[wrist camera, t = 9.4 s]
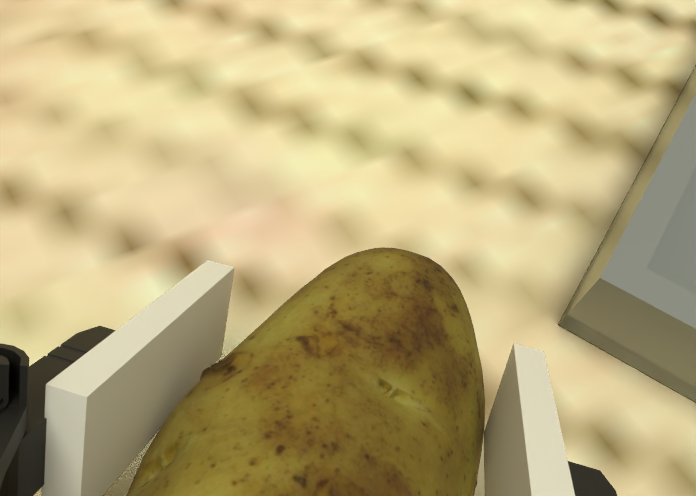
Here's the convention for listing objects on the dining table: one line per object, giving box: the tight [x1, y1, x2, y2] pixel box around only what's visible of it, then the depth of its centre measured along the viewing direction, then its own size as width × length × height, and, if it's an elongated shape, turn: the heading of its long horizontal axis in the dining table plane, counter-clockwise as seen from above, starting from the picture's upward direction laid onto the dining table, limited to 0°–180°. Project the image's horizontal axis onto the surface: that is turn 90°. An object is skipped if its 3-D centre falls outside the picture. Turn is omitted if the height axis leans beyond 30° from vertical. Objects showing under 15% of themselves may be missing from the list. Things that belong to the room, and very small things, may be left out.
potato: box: [127, 248, 485, 496], centre depth 14 cm, size 8×13×8 cm, turn 136°
